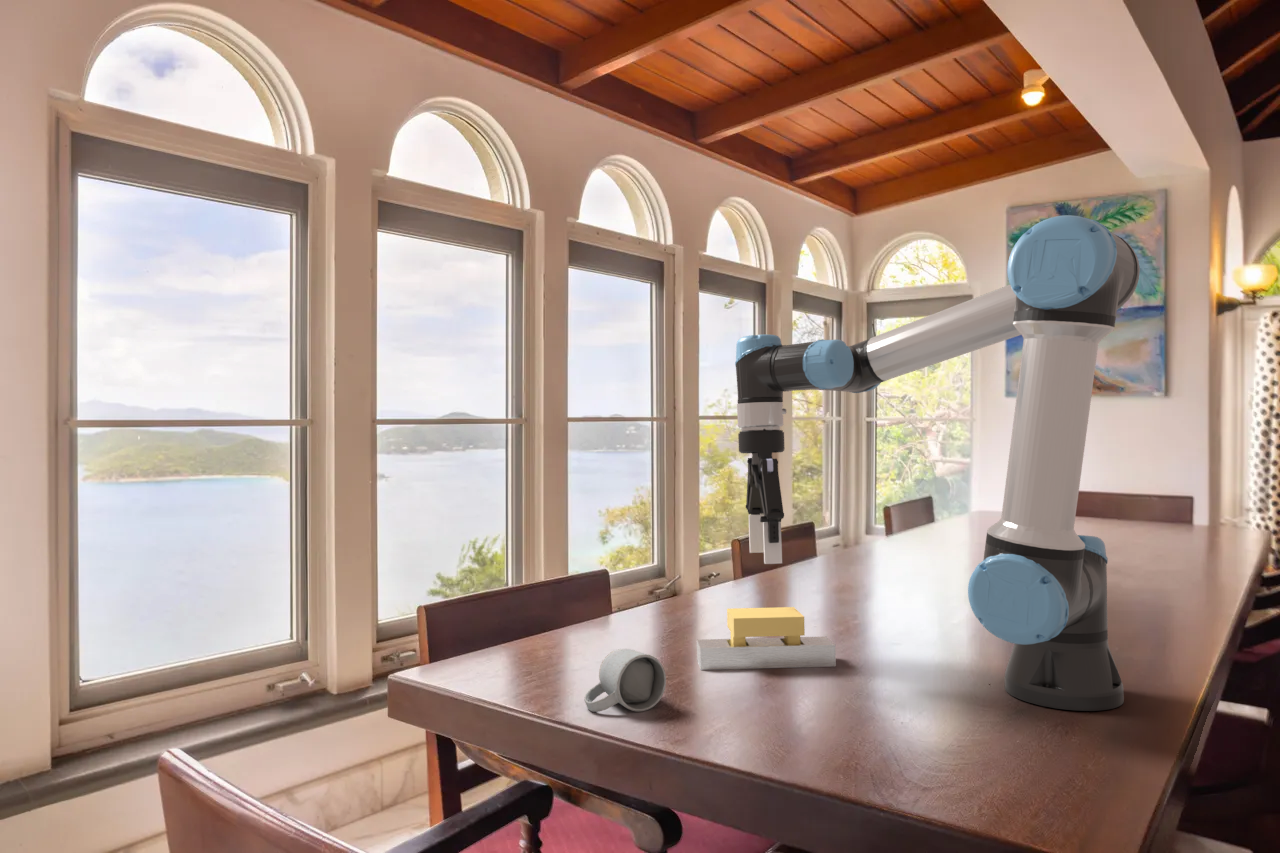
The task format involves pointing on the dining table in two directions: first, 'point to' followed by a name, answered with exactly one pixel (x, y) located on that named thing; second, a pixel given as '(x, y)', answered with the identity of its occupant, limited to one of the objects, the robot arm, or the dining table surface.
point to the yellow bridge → (765, 624)
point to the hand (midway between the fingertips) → (765, 557)
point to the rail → (765, 653)
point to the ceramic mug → (628, 682)
